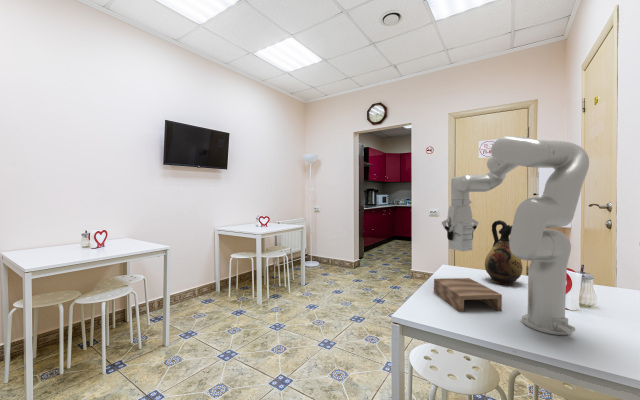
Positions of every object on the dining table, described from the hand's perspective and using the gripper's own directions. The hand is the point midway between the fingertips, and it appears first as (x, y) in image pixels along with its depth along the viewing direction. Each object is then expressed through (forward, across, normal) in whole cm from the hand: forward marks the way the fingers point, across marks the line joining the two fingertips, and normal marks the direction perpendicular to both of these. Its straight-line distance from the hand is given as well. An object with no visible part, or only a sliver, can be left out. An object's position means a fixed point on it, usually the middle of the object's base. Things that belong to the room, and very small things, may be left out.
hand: (460, 239), depth 129 cm
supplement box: (+5, 0, 0) cm, 5 cm away
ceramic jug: (+22, -24, -5) cm, 33 cm away
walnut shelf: (+22, +8, +17) cm, 29 cm away
